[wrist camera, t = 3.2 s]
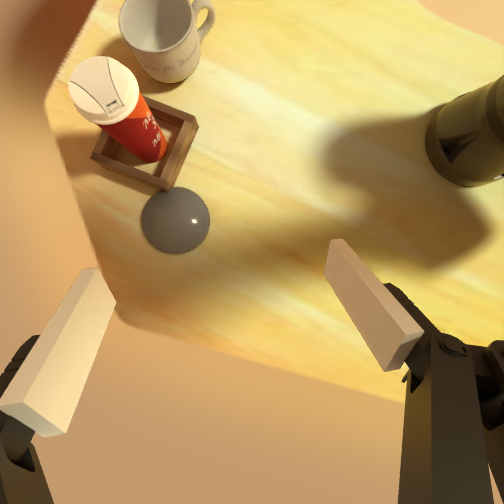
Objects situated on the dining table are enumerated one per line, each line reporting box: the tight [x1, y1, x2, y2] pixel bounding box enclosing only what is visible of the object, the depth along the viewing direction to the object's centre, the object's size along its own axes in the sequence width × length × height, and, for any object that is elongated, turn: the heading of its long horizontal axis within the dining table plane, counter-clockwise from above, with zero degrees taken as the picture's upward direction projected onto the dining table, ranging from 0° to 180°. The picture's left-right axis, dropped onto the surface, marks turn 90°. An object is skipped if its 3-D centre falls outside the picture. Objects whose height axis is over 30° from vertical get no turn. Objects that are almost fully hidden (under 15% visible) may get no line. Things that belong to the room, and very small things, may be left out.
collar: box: [90, 95, 199, 192], centre depth 39 cm, size 12×12×3 cm
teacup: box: [119, 0, 216, 83], centre depth 37 cm, size 14×11×8 cm
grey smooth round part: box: [142, 187, 210, 254], centre depth 39 cm, size 11×11×1 cm
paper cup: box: [68, 56, 167, 163], centre depth 33 cm, size 8×8×14 cm
